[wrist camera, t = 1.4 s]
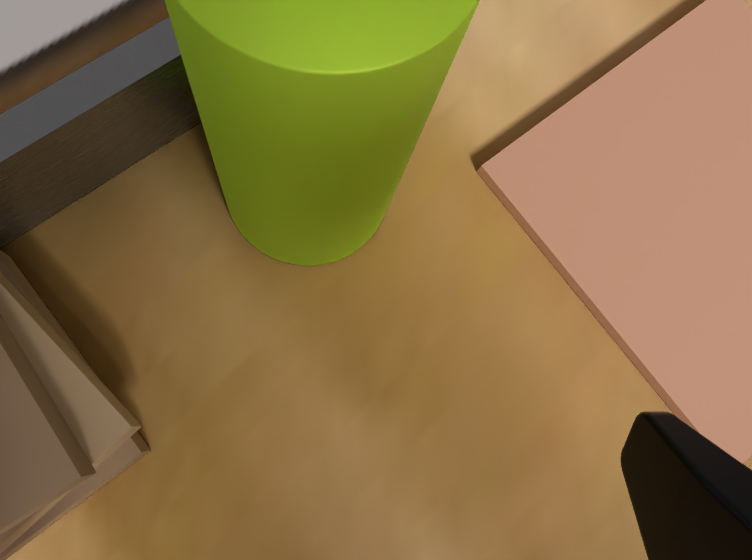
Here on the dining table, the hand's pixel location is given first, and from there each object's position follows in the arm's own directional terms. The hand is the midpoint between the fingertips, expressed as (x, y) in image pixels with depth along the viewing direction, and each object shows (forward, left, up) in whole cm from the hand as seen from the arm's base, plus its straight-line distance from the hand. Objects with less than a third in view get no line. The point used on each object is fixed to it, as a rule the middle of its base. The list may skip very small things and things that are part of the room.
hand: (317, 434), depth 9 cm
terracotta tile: (+18, -4, -13) cm, 23 cm away
